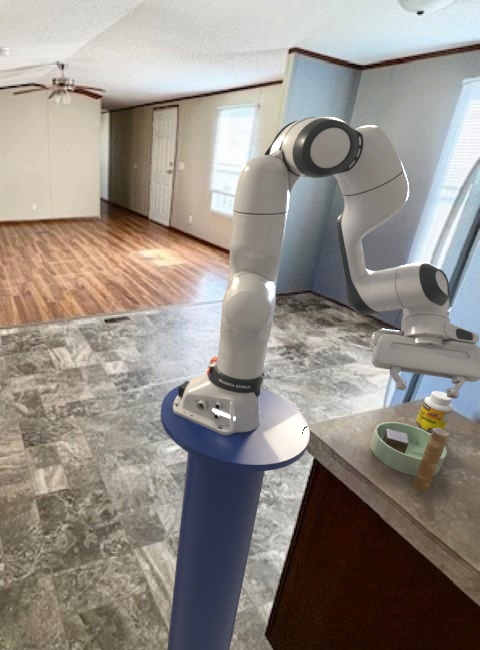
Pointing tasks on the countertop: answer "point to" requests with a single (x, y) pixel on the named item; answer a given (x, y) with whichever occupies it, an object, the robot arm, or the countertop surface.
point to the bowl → (413, 452)
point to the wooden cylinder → (430, 459)
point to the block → (396, 440)
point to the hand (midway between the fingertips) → (426, 393)
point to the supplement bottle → (434, 412)
